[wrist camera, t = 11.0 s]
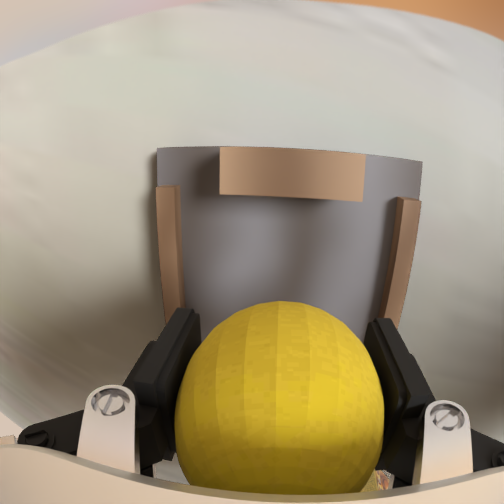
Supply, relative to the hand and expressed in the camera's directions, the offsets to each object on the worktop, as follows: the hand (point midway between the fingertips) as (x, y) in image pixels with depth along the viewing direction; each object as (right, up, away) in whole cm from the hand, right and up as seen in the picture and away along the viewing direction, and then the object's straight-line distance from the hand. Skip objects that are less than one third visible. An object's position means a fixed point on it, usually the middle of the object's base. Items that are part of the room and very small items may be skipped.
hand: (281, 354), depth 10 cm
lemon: (0, +1, +2) cm, 2 cm away
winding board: (+1, -2, +10) cm, 10 cm away
